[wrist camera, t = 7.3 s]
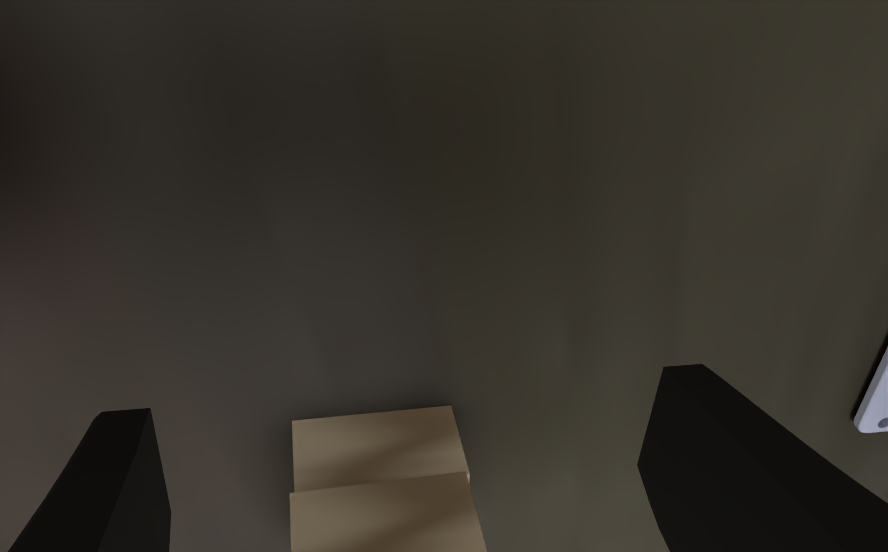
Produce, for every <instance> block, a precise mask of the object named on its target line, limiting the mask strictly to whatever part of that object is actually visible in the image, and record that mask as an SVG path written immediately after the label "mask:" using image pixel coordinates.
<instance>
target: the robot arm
mask: <svg viewBox="0 0 888 552" xmlns="http://www.w3.org/2000/svg"><path fill="white" fill-rule="evenodd" d="M854 425H855V426H856V427H857V428H858V430H859V431H860V432H862V433H873V432H883V431H888V347H887V349H886V351H885V354H884V356H883V358H882V360H881V362H880V364H879V366H878V369H877V371H876V373H875V375H874V377H873V379H872V381H871V384H870V386H869V388H868V390H867V392H866V394H865V396H864V399H863V401H862V403H861V405H860V407H859V409H858V411H857V414H856V416H855V418H854ZM637 466H638V469H639V472H640V475H641V478H642V481H643V484H644V487H645V490H646V493H647V496H648V499H649V502H650V505H651V508H652V510H653V513H654V516H655V519H656V521H657V524H658V527H659V529H660V531H661V534H662V536H663V538H664V540H665V542H666V544H667V546H668V548H669V550H670V552H888V503H886V502H885V501H883V500H882V499H881V498H879V497H878V496H876V495H875V494H873V493H872V492H870V491H869V490H868V489H866V488H865V487H863V486H862V485H860V484H859V483H858V482H856V481H855V480H853V479H852V478H851V477H849V476H848V475H847V474H845V473H844V472H842V471H841V470H840V469H838V468H837V467H836V466H834V465H833V464H832V463H830V462H829V461H827V460H826V459H825V458H823V457H822V456H821V455H819V454H818V453H817V452H816V451H814V450H813V449H812V448H810V447H809V446H808V445H806V444H805V443H804V442H802V441H801V440H800V439H799V438H797V437H796V436H795V435H793V434H792V433H791V432H790V431H788V430H787V429H786V428H784V427H783V426H782V425H781V424H779V423H778V422H777V421H775V420H774V419H773V418H772V417H770V416H769V415H768V414H767V413H765V412H764V411H763V410H761V409H760V408H759V407H758V406H756V405H755V404H754V403H753V402H751V401H750V400H749V399H748V398H746V397H745V396H744V395H742V394H741V393H740V392H739V391H737V390H736V389H735V388H734V387H732V386H731V385H730V384H728V383H727V382H726V381H725V380H723V379H722V378H721V377H719V376H718V375H717V374H715V373H714V372H713V371H711V370H710V369H708V368H707V367H706V366H704V365H703V364H695V365H682V366H670V367H663V371H662V375H661V378H660V382H659V386H658V390H657V393H656V397H655V401H654V404H653V408H652V412H651V415H650V419H649V423H648V427H647V430H646V434H645V438H644V441H643V445H642V449H641V453H640V456H639V460H638V464H637ZM170 525H171V509H170V504H169V499H168V494H167V489H166V484H165V479H164V474H163V469H162V464H161V459H160V454H159V449H158V444H157V439H156V434H155V429H154V424H153V419H152V414H151V409H150V408H145V409H132V410H120V411H107V412H101V413H100V414H99V415H98V416H97V417H96V418H95V419H94V420H93V422H92V423H91V425H90V427H89V428H88V430H87V432H86V434H85V435H84V437H83V439H82V440H81V442H80V444H79V445H78V447H77V449H76V450H75V452H74V454H73V455H72V457H71V458H70V460H69V462H68V463H67V465H66V466H65V468H64V470H63V471H62V473H61V474H60V476H59V477H58V479H57V480H56V482H55V484H54V485H53V487H52V488H51V490H50V491H49V493H48V494H47V496H46V497H45V499H44V500H43V502H42V503H41V505H40V506H39V508H38V509H37V511H36V512H35V513H34V515H33V516H32V518H31V519H30V521H29V522H28V524H27V525H26V526H25V528H24V529H23V531H22V532H21V534H20V535H19V536H18V538H17V539H16V541H15V542H14V544H13V545H12V547H11V548H10V549H9V551H8V552H169V543H170Z"/></svg>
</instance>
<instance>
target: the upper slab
mask: <svg viewBox="0 0 888 552" xmlns="http://www.w3.org/2000/svg"><path fill="white" fill-rule="evenodd" d="M290 521H291V552H487V550H486V546H485V542H484V539H483V535H482V531H481V527H480V524H479V520H478V516H477V512H476V508H475V505H474V501H473V497H472V493H471V489H470V486H469V482H468V478H467V474H466V471H464V472H456V473H448V474H440V475H432V476H424V477H416V478H408V479H400V480H392V481H384V482H376V483H368V484H360V485H352V486H344V487H336V488H328V489H320V490H312V491H304V492H296V493H290Z"/></svg>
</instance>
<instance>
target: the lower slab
mask: <svg viewBox="0 0 888 552" xmlns="http://www.w3.org/2000/svg"><path fill="white" fill-rule="evenodd" d="M292 438H293V466H294V493H296V492H304V491H312V490H320V489H328V488H336V487H344V486H352V485H360V484H368V483H376V482H384V481H392V480H400V479H408V478H416V477H424V476H432V475H440V474H448V473H456V472H464V471H466V474H467V478H468V482H469V478H470V473H469V469H468V466H467V462H466V458H465V455H464V451H463V447H462V443H461V440H460V436H459V432H458V429H457V425H456V421H455V417H454V414H453V410H452V406H451V405H449V406H439V407H429V408H419V409H408V410H398V411H388V412H377V413H367V414H357V415H347V416H336V417H326V418H316V419H305V420H295V421H292Z"/></svg>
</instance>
